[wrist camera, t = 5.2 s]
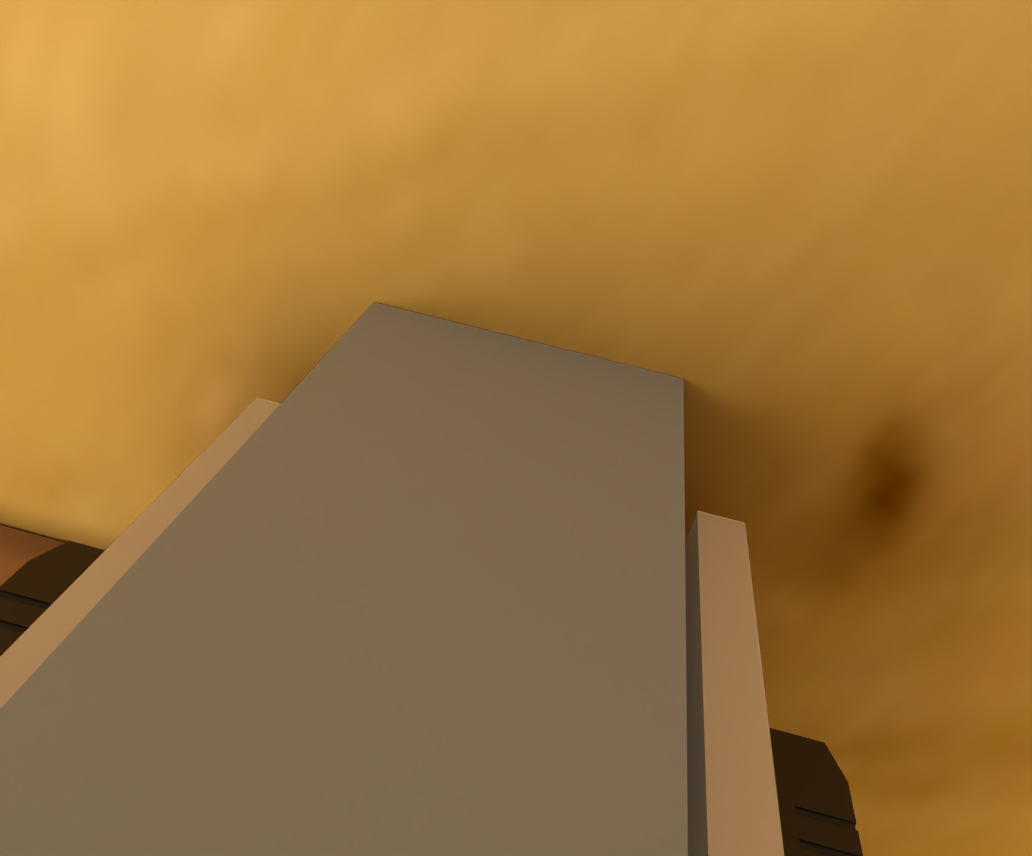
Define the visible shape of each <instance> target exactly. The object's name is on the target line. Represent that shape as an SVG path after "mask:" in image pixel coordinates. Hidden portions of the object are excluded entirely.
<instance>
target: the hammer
mask: <svg viewBox="0 0 1032 856" xmlns="http://www.w3.org/2000/svg"><path fill="white" fill-rule="evenodd" d="M0 856H688V807H687V697H686V587H685V477H684V379H683V378H679V377H674V376H670V375H666V374H662V373H658V372H654V371H650V370H646V369H642V368H638V367H634V366H630V365H626V364H622V363H618V362H614V361H610V360H606V359H602V358H598V357H594V356H590V355H586V354H582V353H578V352H574V351H570V350H566V349H561V348H557V347H553V346H549V345H545V344H541V343H537V342H533V341H529V340H525V339H521V338H517V337H513V336H509V335H505V334H501V333H497V332H493V331H489V330H485V329H481V328H477V327H473V326H469V325H465V324H461V323H457V322H453V321H448V320H444V319H440V318H436V317H432V316H428V315H424V314H420V313H416V312H412V311H408V310H404V309H400V308H396V307H392V306H388V305H384V304H380V303H376V302H374V303H373V304H372V305H371V306H370V307H369V308H368V309H367V310H366V311H365V312H364V314H363V315H362V316H361V317H360V318H359V319H358V320H357V321H356V322H355V323H354V324H353V326H352V327H351V328H350V329H349V330H348V331H347V332H346V333H345V334H344V335H343V336H342V338H341V339H340V340H339V341H338V342H337V343H336V344H335V345H334V346H333V347H332V348H331V350H330V351H329V352H328V353H327V354H326V355H325V356H324V357H323V358H322V359H321V360H320V361H319V363H318V364H317V365H316V366H315V367H314V368H313V369H312V370H311V371H310V372H309V373H308V375H307V376H306V377H305V378H304V379H303V380H302V381H301V382H300V383H299V384H298V385H297V387H296V388H295V389H294V390H293V391H292V392H291V393H290V394H289V395H288V396H287V397H286V398H285V400H284V401H283V402H282V403H281V404H280V405H279V406H278V407H277V408H276V409H275V410H274V412H273V413H272V414H271V415H270V416H269V417H268V418H267V419H266V420H265V421H264V422H263V424H262V425H261V426H260V427H259V428H258V429H257V430H256V431H255V432H254V433H253V434H252V436H251V437H250V438H249V439H248V440H247V441H246V442H245V443H244V444H243V445H242V446H241V447H240V449H239V450H238V451H237V452H236V453H235V454H234V455H233V456H232V457H231V458H230V459H229V461H228V462H227V463H226V464H225V465H224V466H223V467H222V468H221V469H220V470H219V471H218V473H217V474H216V475H215V476H214V477H213V478H212V479H211V480H210V481H209V482H208V483H207V484H206V486H205V487H204V488H203V489H202V490H201V491H200V492H199V493H198V494H197V495H196V496H195V498H194V499H193V500H192V501H191V502H190V503H189V504H188V505H187V506H186V507H185V508H184V510H183V511H182V512H181V513H180V514H179V515H178V516H177V517H176V518H175V519H174V520H173V522H172V523H171V524H170V525H169V526H168V527H167V528H166V529H165V530H164V531H163V532H162V533H161V535H160V536H159V537H158V538H157V539H156V540H155V541H154V542H153V543H152V544H151V545H150V547H149V548H148V549H147V550H146V551H145V552H144V553H143V554H142V555H141V556H140V557H139V559H138V560H137V561H136V562H135V563H134V564H133V565H132V566H131V567H130V568H129V569H128V570H127V572H126V573H125V574H124V575H123V576H122V577H121V578H120V579H119V580H118V581H117V582H116V584H115V585H114V586H113V587H112V588H111V589H110V590H109V591H108V592H107V593H106V594H105V596H104V597H103V598H102V599H101V600H100V601H99V602H98V603H97V604H96V605H95V606H94V608H93V609H92V610H91V611H90V612H89V613H88V614H87V615H86V616H85V617H84V618H83V619H82V621H81V622H80V623H79V624H78V625H77V626H76V627H75V628H74V629H73V630H72V631H71V633H70V634H69V635H68V636H67V637H66V638H65V639H64V640H63V641H62V642H61V643H60V645H59V646H58V647H57V648H56V649H55V650H54V651H53V652H52V653H51V654H50V655H49V657H48V658H47V659H46V660H45V661H44V662H43V663H42V664H41V665H40V666H39V667H38V668H37V670H36V671H35V672H34V673H33V674H32V675H31V676H30V677H29V678H28V679H27V680H26V682H25V683H24V684H23V685H22V686H21V687H20V688H19V689H18V690H17V691H16V692H15V694H14V695H13V696H12V697H11V698H10V699H9V700H8V701H7V702H6V703H5V704H4V705H3V707H2V708H1V709H0Z"/></svg>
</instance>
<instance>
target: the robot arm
mask: <svg viewBox="0 0 1032 856" xmlns="http://www.w3.org/2000/svg"><path fill="white" fill-rule="evenodd" d="M280 404H281V403H278V402H274V401H270V400H266V399H262V398H258V397H257V398H256V399H255V400H254V401H253V402H252V403H251V404H250V405H249V406H248V407H247V408H246V409H245V410H244V411H243V412H242V413H241V414H240V415H239V416H238V417H237V418H236V419H235V420H234V421H233V422H232V423H231V424H230V425H229V426H228V427H227V428H226V429H225V430H224V431H223V432H222V433H221V434H220V435H219V436H218V437H217V438H216V439H215V440H214V441H213V442H212V443H211V444H210V445H209V446H208V447H207V448H206V449H205V450H204V451H203V452H202V453H201V454H200V455H199V456H198V457H197V458H196V459H195V460H194V461H193V462H192V463H191V464H190V465H189V466H188V467H187V468H186V469H185V470H184V471H183V472H182V473H181V475H180V476H179V477H178V478H177V479H176V480H175V481H174V482H173V483H172V484H171V485H170V486H169V487H168V488H167V489H166V490H165V491H164V492H163V493H162V494H161V495H160V496H159V497H158V498H157V499H156V500H155V501H154V502H153V503H152V504H151V505H150V506H149V507H148V508H147V509H146V510H145V511H144V512H143V513H142V514H141V515H140V516H139V517H138V518H137V519H136V520H135V521H134V522H133V523H132V524H131V525H130V526H129V527H128V528H127V529H126V530H125V531H124V532H123V533H122V534H121V535H120V536H119V537H118V538H117V539H116V540H115V541H114V542H113V543H112V544H111V545H110V546H109V547H108V548H107V549H106V550H101V549H97V548H94V547H90V546H86V545H83V544H79V543H75V542H72V541H68V542H66V543H64V544H62V545H60V546H58V547H56V548H54V549H51V550H49V551H47V552H45V553H43V554H41V555H39V556H37V557H35V558H33V559H31V560H29V561H28V562H26V563H25V564H24V565H23V566H22V567H21V568H20V569H19V570H18V571H16V572H15V573H14V574H13V575H12V576H11V577H10V578H9V579H8V580H7V581H5V582H4V583H3V584H2V585H1V586H0V709H1V708H2V707H3V705H4V704H5V703H6V702H7V701H8V700H9V699H10V698H11V697H12V696H13V695H14V694H15V692H16V691H17V690H18V689H19V688H20V687H21V686H22V685H23V684H24V683H25V682H26V680H27V679H28V678H29V677H30V676H31V675H32V674H33V673H34V672H35V671H36V670H37V668H38V667H39V666H40V665H41V664H42V663H43V662H44V661H45V660H46V659H47V658H48V657H49V655H50V654H51V653H52V652H53V651H54V650H55V649H56V648H57V647H58V646H59V645H60V643H61V642H62V641H63V640H64V639H65V638H66V637H67V636H68V635H69V634H70V633H71V631H72V630H73V629H74V628H75V627H76V626H77V625H78V624H79V623H80V622H81V621H82V619H83V618H84V617H85V616H86V615H87V614H88V613H89V612H90V611H91V610H92V609H93V608H94V606H95V605H96V604H97V603H98V602H99V601H100V600H101V599H102V598H103V597H104V596H105V594H106V593H107V592H108V591H109V590H110V589H111V588H112V587H113V586H114V585H115V584H116V582H117V581H118V580H119V579H120V578H121V577H122V576H123V575H124V574H125V573H126V572H127V570H128V569H129V568H130V567H131V566H132V565H133V564H134V563H135V562H136V561H137V560H138V559H139V557H140V556H141V555H142V554H143V553H144V552H145V551H146V550H147V549H148V548H149V547H150V545H151V544H152V543H153V542H154V541H155V540H156V539H157V538H158V537H159V536H160V535H161V533H162V532H163V531H164V530H165V529H166V528H167V527H168V526H169V525H170V524H171V523H172V522H173V520H174V519H175V518H176V517H177V516H178V515H179V514H180V513H181V512H182V511H183V510H184V508H185V507H186V506H187V505H188V504H189V503H190V502H191V501H192V500H193V499H194V498H195V496H196V495H197V494H198V493H199V492H200V491H201V490H202V489H203V488H204V487H205V486H206V484H207V483H208V482H209V481H210V480H211V479H212V478H213V477H214V476H215V475H216V474H217V473H218V471H219V470H220V469H221V468H222V467H223V466H224V465H225V464H226V463H227V462H228V461H229V459H230V458H231V457H232V456H233V455H234V454H235V453H236V452H237V451H238V450H239V449H240V447H241V446H242V445H243V444H244V443H245V442H246V441H247V440H248V439H249V438H250V437H251V436H252V434H253V433H254V432H255V431H256V430H257V429H258V428H259V427H260V426H261V425H262V424H263V422H264V421H265V420H266V419H267V418H268V417H269V416H270V415H271V414H272V413H273V412H274V410H275V409H276V408H277V407H278V406H279V405H280ZM685 587H686V697H687V807H688V856H863V853H862V848H861V844H860V839H859V834H858V831H857V830H855V824H856V819H855V815H854V810H853V805H852V800H851V795H850V790H849V785H848V782H847V780H846V778H845V776H844V775H843V773H842V771H841V770H840V768H839V766H838V765H837V763H836V761H835V760H834V758H833V756H832V755H831V753H830V751H829V750H828V748H827V746H826V745H825V743H823V742H820V741H816V740H812V739H809V738H805V737H801V736H797V735H794V734H790V733H786V732H783V731H779V730H775V729H772V728H769V721H768V713H767V704H766V696H765V687H764V679H763V670H762V662H761V653H760V645H759V636H758V628H757V619H756V611H755V602H754V594H753V585H752V577H751V568H750V560H749V551H748V543H747V534H746V526H745V522H741V521H737V520H734V519H730V518H726V517H722V516H718V515H714V514H710V513H706V512H702V511H698V510H697V512H696V515H695V518H694V520H693V523H692V526H691V528H690V531H689V534H688V536H687V539H686V542H685Z"/></svg>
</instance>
